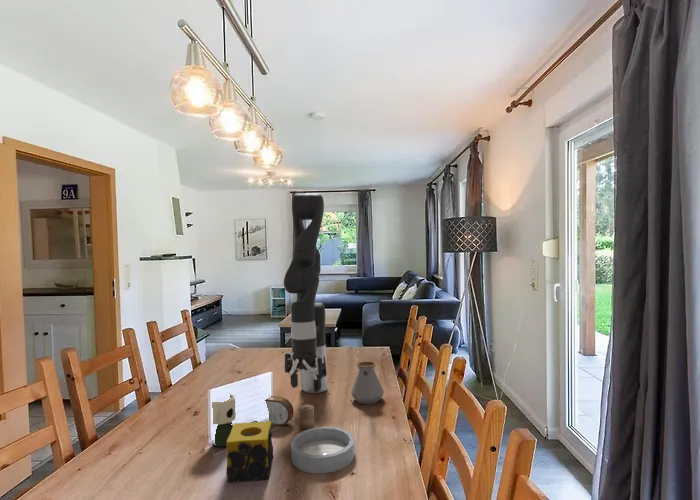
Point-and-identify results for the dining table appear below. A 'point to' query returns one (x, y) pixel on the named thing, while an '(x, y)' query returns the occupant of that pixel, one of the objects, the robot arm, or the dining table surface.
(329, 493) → the dining table surface
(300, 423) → the walnut bead
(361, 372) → the coffee pot
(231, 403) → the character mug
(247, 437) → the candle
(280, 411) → the tin
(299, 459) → the round tray
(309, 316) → the robot arm
